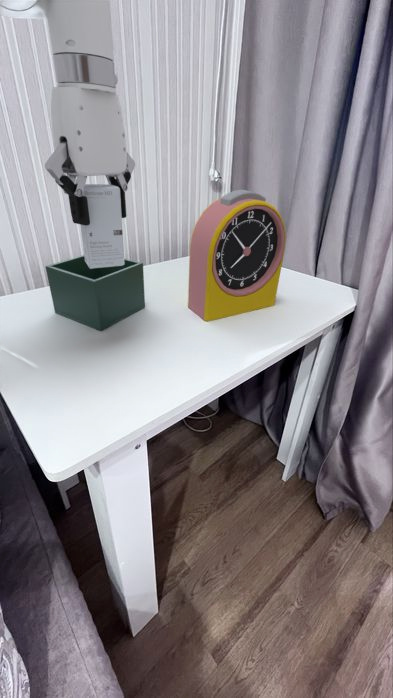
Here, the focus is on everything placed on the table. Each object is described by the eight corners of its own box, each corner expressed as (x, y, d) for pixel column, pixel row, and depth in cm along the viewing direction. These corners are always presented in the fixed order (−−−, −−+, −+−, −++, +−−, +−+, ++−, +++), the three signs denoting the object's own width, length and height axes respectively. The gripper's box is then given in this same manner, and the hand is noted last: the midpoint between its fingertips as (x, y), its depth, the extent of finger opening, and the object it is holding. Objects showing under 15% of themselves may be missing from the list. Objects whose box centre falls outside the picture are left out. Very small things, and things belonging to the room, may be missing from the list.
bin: (100, 331, 70) (94, 281, 64) (55, 312, 76) (45, 266, 70) (145, 307, 80) (143, 262, 75) (101, 292, 87) (96, 250, 81)
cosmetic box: (89, 269, 54) (78, 187, 47) (84, 261, 57) (73, 183, 51) (126, 265, 56) (120, 187, 50) (119, 257, 60) (112, 183, 53)
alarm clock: (205, 321, 75) (214, 195, 61) (186, 306, 82) (189, 189, 68) (275, 305, 85) (296, 192, 70) (253, 292, 91) (268, 186, 77)
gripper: (113, 88, 51) (121, 210, 61) (6, 67, 39) (38, 225, 48) (150, 87, 48) (153, 216, 58) (46, 63, 36) (72, 233, 45)
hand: (100, 219), depth 53 cm, fingers closed on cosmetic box, 7 cm apart
